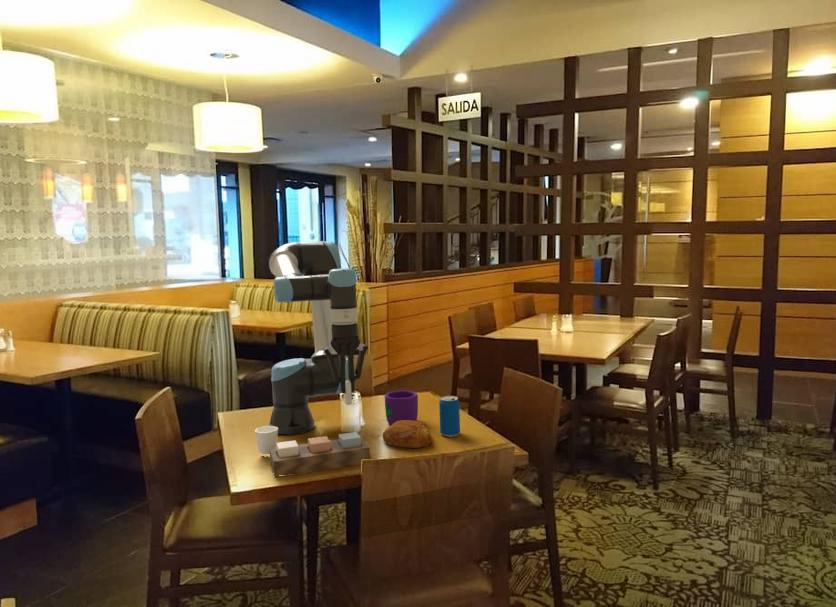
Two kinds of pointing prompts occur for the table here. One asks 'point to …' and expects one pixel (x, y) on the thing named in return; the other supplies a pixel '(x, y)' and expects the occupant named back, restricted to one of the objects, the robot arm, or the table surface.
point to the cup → (266, 438)
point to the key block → (318, 458)
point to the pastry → (407, 434)
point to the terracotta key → (318, 444)
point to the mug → (401, 406)
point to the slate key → (349, 440)
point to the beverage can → (449, 416)
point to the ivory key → (287, 449)
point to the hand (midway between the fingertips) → (348, 403)
